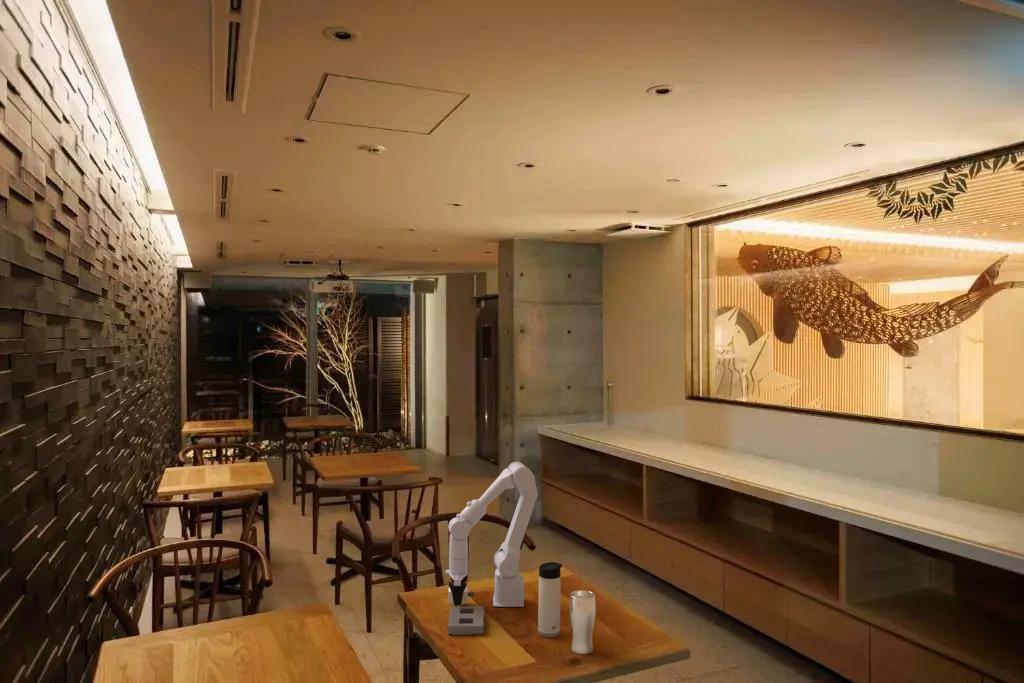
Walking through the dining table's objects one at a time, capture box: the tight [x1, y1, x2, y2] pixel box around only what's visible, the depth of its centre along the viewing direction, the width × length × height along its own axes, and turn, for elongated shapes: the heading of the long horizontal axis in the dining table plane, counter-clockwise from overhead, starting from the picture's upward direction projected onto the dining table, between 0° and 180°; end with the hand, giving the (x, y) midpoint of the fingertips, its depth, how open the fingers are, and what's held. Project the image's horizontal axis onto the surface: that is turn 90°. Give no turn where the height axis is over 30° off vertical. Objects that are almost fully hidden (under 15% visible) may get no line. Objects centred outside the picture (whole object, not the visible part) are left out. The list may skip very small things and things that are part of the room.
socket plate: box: [447, 605, 485, 636], centre depth 206 cm, size 10×14×2 cm
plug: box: [447, 585, 475, 606], centre depth 219 cm, size 8×5×6 cm, turn 92°
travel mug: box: [537, 561, 563, 638], centre depth 201 cm, size 6×7×20 cm
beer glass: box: [569, 589, 597, 655], centre depth 191 cm, size 7×7×15 cm
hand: (458, 600), depth 219 cm, fingers open, 6 cm apart
